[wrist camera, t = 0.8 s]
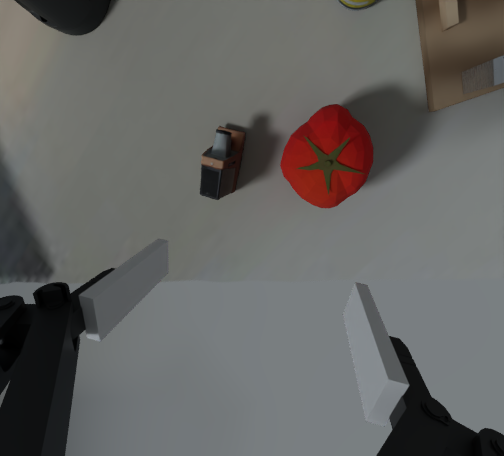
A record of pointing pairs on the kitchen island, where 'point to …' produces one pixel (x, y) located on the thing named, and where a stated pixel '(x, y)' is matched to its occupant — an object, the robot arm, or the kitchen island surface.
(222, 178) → the electronic device
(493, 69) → the jaw
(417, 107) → the kitchen island surface
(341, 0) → the pill bottle
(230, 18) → the kitchen island surface
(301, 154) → the tomato
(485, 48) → the board
